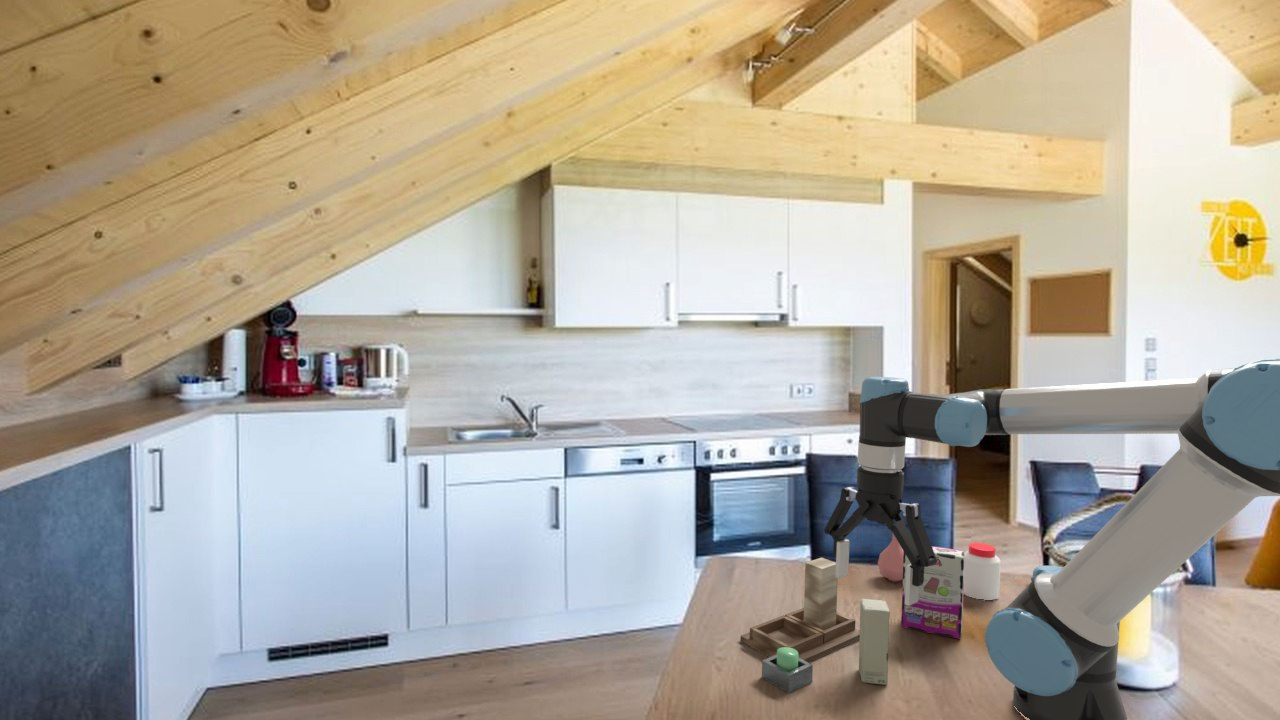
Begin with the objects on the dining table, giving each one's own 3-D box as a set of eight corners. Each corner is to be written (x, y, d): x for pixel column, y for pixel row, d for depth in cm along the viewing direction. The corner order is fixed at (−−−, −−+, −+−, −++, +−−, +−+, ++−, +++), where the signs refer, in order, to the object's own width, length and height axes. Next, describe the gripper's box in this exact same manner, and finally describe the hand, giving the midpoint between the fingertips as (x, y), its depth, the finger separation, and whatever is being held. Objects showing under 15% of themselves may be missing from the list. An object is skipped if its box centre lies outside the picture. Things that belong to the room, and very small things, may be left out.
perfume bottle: (879, 584, 158) (881, 534, 157) (875, 572, 165) (877, 524, 165) (914, 587, 156) (916, 537, 156) (908, 575, 164) (910, 527, 163)
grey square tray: (812, 681, 115) (812, 664, 115) (788, 693, 111) (789, 675, 111) (784, 667, 119) (785, 650, 119) (761, 677, 116) (762, 660, 116)
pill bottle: (953, 590, 155) (955, 543, 155) (976, 584, 159) (979, 539, 158) (983, 603, 148) (985, 554, 148) (1006, 597, 152) (1009, 549, 151)
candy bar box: (962, 630, 135) (966, 550, 134) (961, 640, 131) (965, 558, 130) (902, 617, 140) (906, 540, 139) (900, 627, 136) (903, 547, 135)
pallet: (864, 637, 131) (867, 567, 130) (793, 669, 119) (796, 592, 118) (810, 613, 142) (813, 548, 141) (740, 640, 129) (742, 569, 128)
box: (888, 686, 114) (891, 612, 113) (861, 683, 115) (863, 609, 114) (883, 670, 119) (886, 599, 118) (857, 667, 120) (860, 597, 119)
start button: (802, 676, 115) (802, 653, 115) (788, 682, 113) (788, 659, 112) (785, 667, 118) (786, 645, 118) (771, 673, 116) (772, 651, 115)
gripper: (963, 480, 107) (956, 609, 108) (833, 452, 127) (828, 562, 128) (938, 486, 102) (931, 621, 104) (807, 456, 122) (803, 570, 124)
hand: (874, 589), depth 116 cm, fingers open, 13 cm apart
